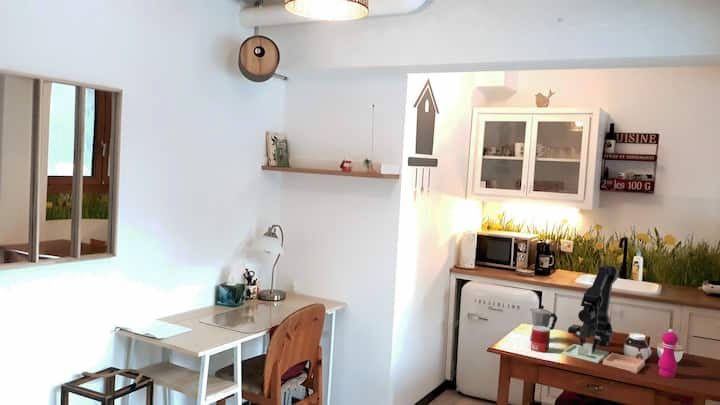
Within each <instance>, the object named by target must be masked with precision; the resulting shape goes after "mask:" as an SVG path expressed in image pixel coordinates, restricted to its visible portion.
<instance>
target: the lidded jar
mask: <svg viewBox="0 0 720 405" xmlns="http://www.w3.org/2000/svg"><path fill="white" fill-rule="evenodd" d="M663 343H664V341H659V342H657V345H656V346H657V350H656V351H657V356H658V358H659V359H660V357H661V356H662V354H663V351H664V347H663ZM675 345H676V348H675V350H674V355H675V359H676V362H677V363H678V362H680V361H681V359H682V357H683V353H684V350H685V349H684V346H682V345H681V344H678V343H676V344H675Z"/></svg>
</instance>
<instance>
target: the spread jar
mask: <svg viewBox="0 0 720 405" xmlns="http://www.w3.org/2000/svg"><path fill="white" fill-rule="evenodd" d="M623 355H624V356H628V357H633V358H637V359H641V360H645V361H646V360H647V359H648V358H650V357H651V355H652V349H651V347H650V346H649V344H648V342H647V340H646V335H645V334H642V333H638V332H630V333H628V337H627V338H626V339H625V341H624V344H623Z"/></svg>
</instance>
